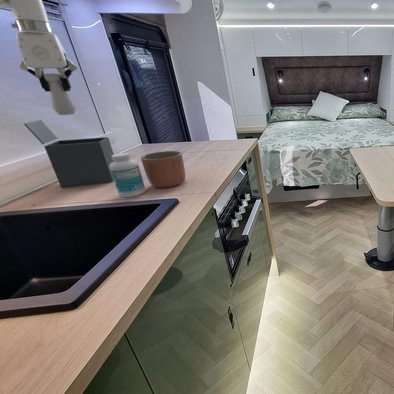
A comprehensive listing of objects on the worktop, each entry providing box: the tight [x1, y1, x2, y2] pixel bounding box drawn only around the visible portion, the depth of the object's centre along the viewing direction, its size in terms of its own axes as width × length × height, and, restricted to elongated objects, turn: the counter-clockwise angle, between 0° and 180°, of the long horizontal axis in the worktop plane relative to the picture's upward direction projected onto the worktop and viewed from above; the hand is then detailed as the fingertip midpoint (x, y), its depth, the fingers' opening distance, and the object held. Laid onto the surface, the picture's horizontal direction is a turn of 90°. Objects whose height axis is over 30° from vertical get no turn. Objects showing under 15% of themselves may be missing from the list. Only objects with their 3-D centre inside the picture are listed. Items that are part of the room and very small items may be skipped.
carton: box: [44, 136, 114, 189], centre depth 107 cm, size 15×11×15 cm
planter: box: [140, 150, 186, 189], centre depth 104 cm, size 12×12×11 cm
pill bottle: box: [109, 152, 147, 198], centre depth 94 cm, size 8×7×14 cm
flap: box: [23, 119, 59, 145], centre depth 100 cm, size 7×11×1 cm
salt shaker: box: [44, 72, 77, 116], centre depth 98 cm, size 6×6×13 cm
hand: (58, 90), depth 97 cm, fingers closed on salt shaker, 4 cm apart
